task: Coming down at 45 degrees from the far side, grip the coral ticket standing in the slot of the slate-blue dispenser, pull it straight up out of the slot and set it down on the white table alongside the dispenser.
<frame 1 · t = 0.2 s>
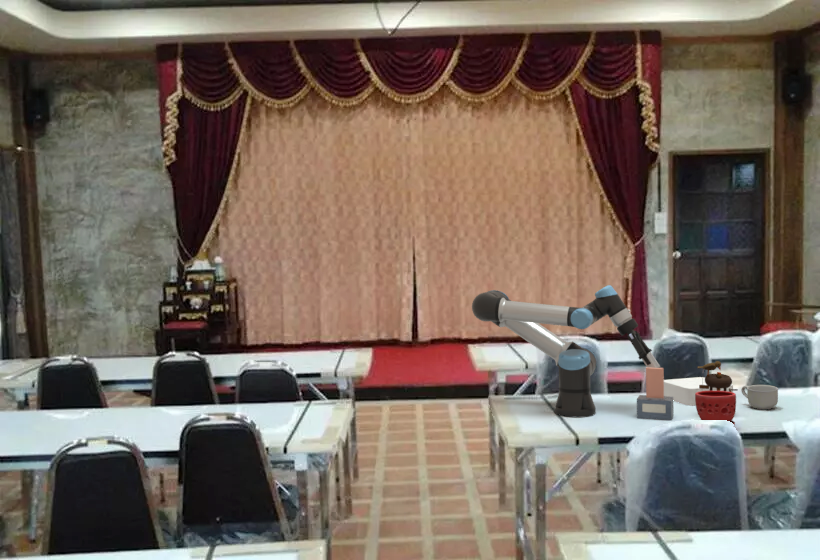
hand: (656, 370, 295), 15 cm above the table, tool tilted 35°, fingers open, 13 cm apart
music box: (718, 414, 287), on the table
dispenser: (655, 416, 286), on the table
teacup: (759, 407, 297), on the table
plant pot: (715, 427, 268), on the table
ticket: (655, 411, 286), point 2 cm above the table, touching dispenser
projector: (696, 400, 316), on the table
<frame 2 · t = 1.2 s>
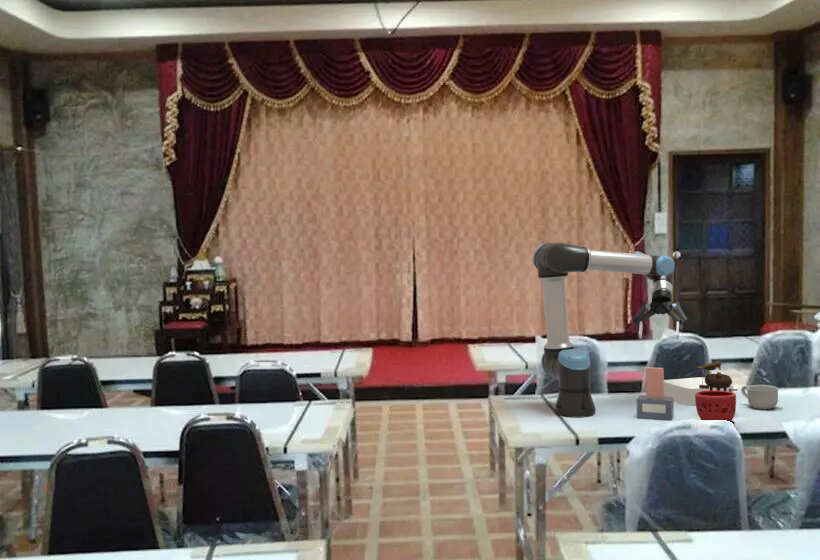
hand: (658, 337, 296), 28 cm above the table, tool tilted 45°, fingers open, 13 cm apart
nothing on the table moved.
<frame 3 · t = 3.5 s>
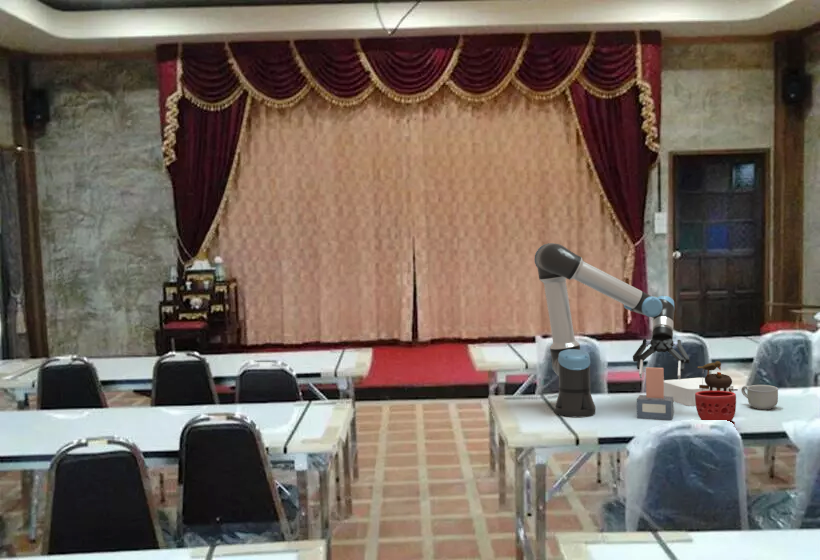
hand: (659, 376, 288), 14 cm above the table, tool tilted 45°, fingers open, 13 cm apart
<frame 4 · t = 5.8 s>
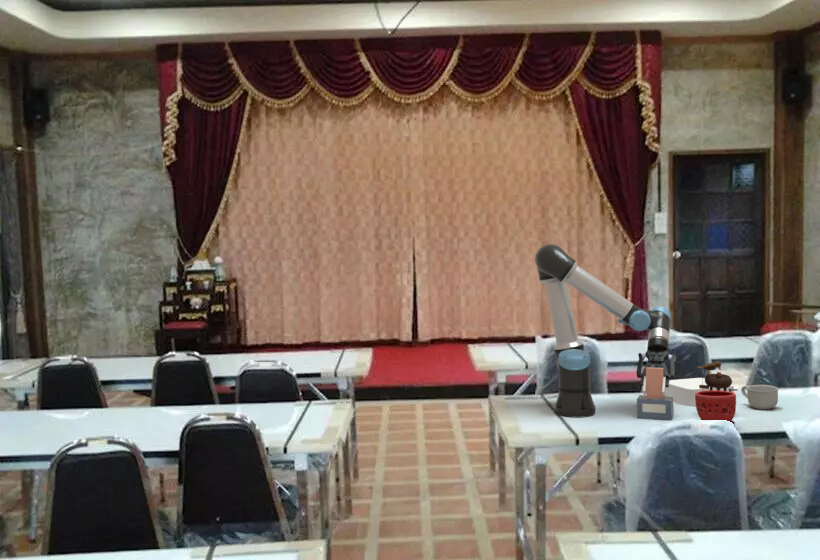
hand: (653, 393, 282), 9 cm above the table, tool tilted 45°, fingers closed on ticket, 6 cm apart
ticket: (655, 411, 286), point 2 cm above the table, touching dispenser, gripper
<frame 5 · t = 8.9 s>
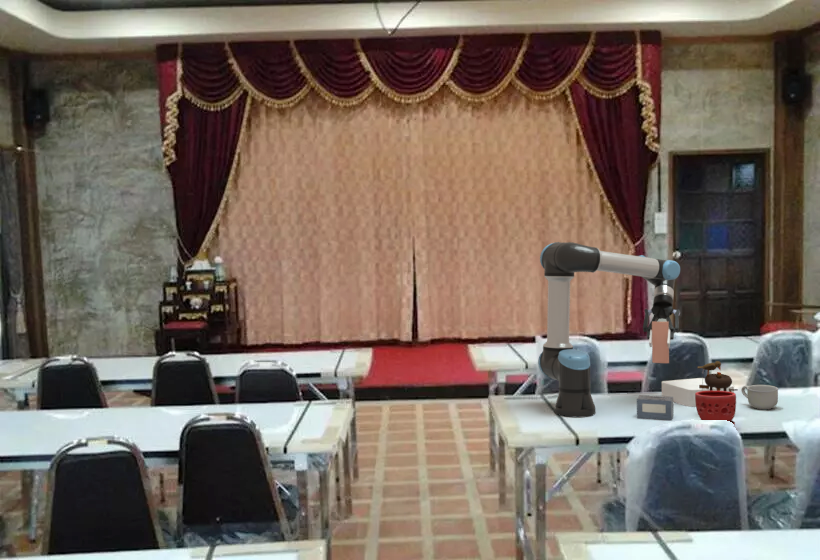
hand: (659, 345, 299), 24 cm above the table, tool tilted 45°, fingers closed on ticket, 6 cm apart
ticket: (660, 362, 303), point 17 cm above the table, touching gripper
when the fingers open (9 cm above the table, at t = 12.1 s): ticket drops 2 cm, on the table.
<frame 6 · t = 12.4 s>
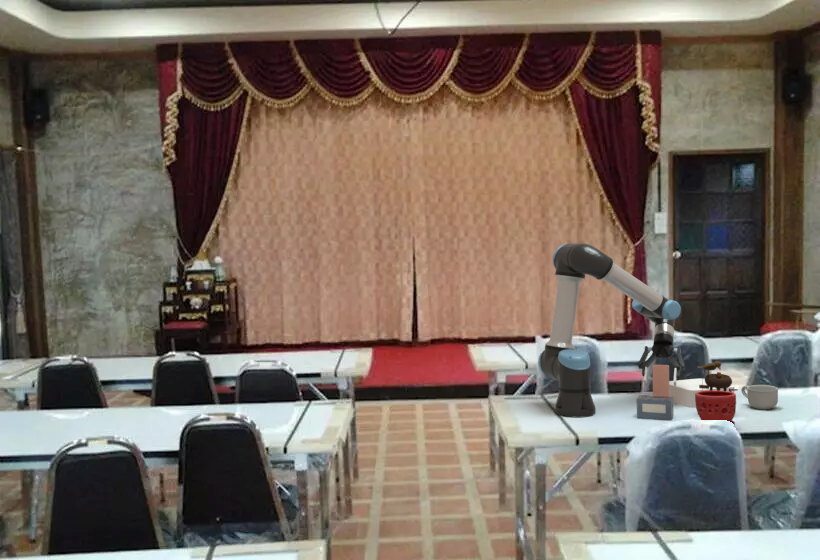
hand: (660, 383, 301), 10 cm above the table, tool tilted 45°, fingers open, 10 cm apart
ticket: (661, 406, 304), on the table
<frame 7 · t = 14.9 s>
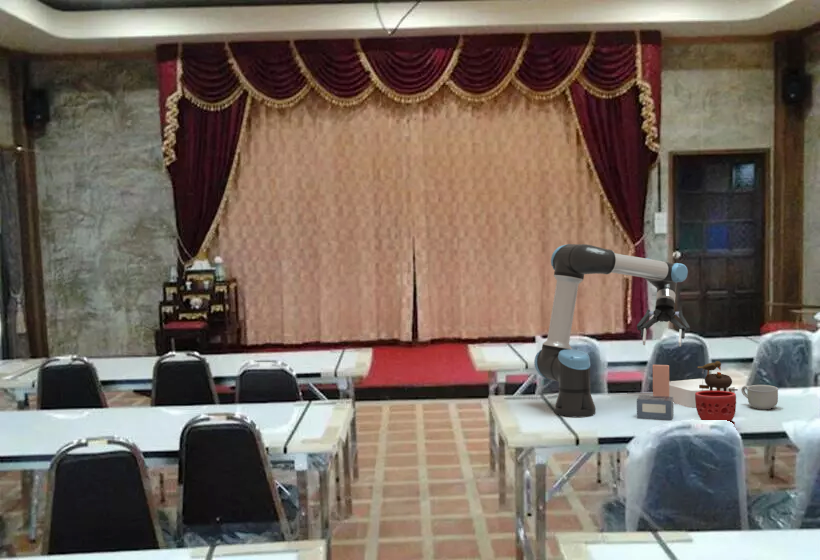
hand: (661, 343, 308), 24 cm above the table, tool tilted 45°, fingers open, 13 cm apart
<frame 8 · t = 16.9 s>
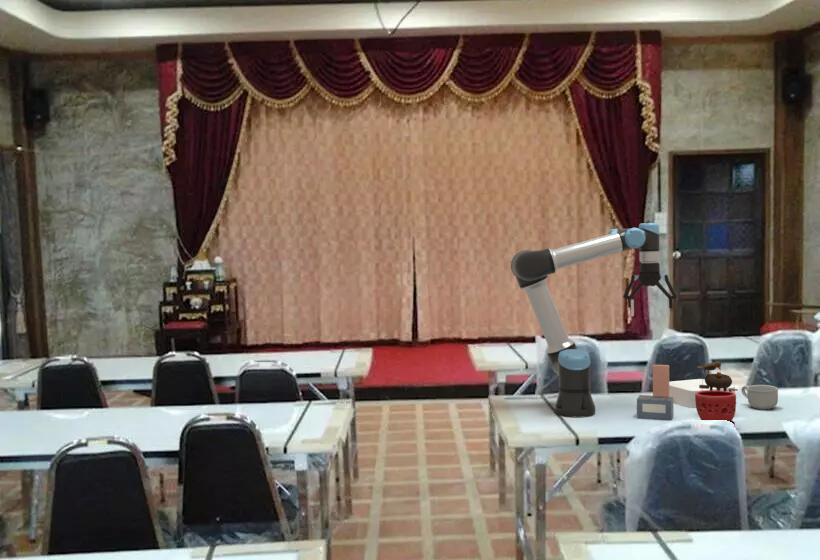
hand: (650, 316, 307), 35 cm above the table, tool pointing down, fingers open, 13 cm apart
at the end: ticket inside the target area (3.0 cm from its centre), on the table; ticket touching table; the gripper is holding nothing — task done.
